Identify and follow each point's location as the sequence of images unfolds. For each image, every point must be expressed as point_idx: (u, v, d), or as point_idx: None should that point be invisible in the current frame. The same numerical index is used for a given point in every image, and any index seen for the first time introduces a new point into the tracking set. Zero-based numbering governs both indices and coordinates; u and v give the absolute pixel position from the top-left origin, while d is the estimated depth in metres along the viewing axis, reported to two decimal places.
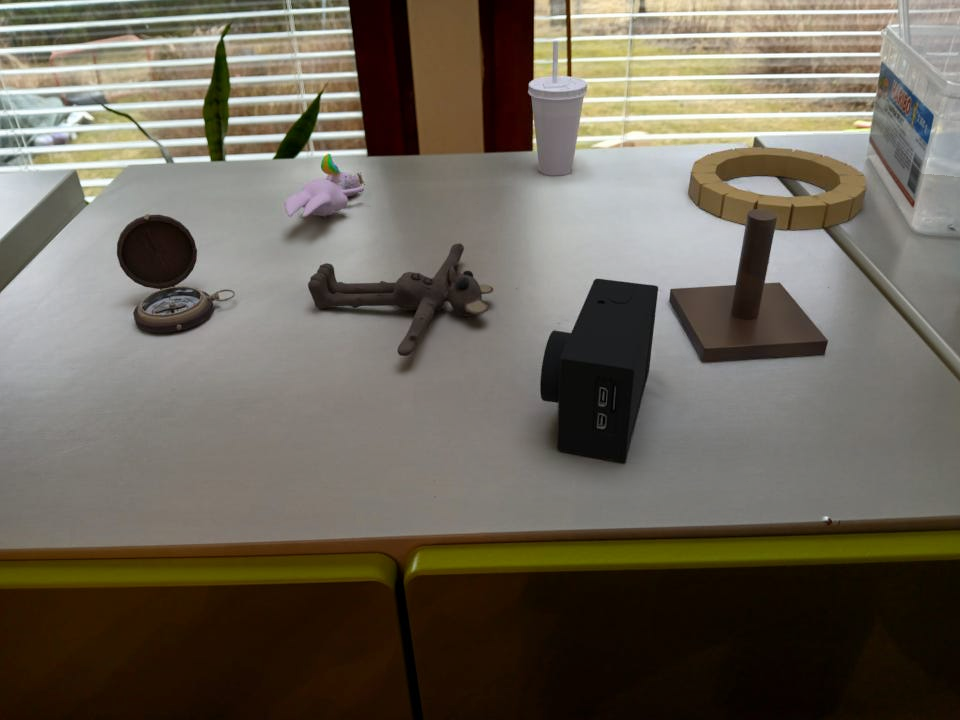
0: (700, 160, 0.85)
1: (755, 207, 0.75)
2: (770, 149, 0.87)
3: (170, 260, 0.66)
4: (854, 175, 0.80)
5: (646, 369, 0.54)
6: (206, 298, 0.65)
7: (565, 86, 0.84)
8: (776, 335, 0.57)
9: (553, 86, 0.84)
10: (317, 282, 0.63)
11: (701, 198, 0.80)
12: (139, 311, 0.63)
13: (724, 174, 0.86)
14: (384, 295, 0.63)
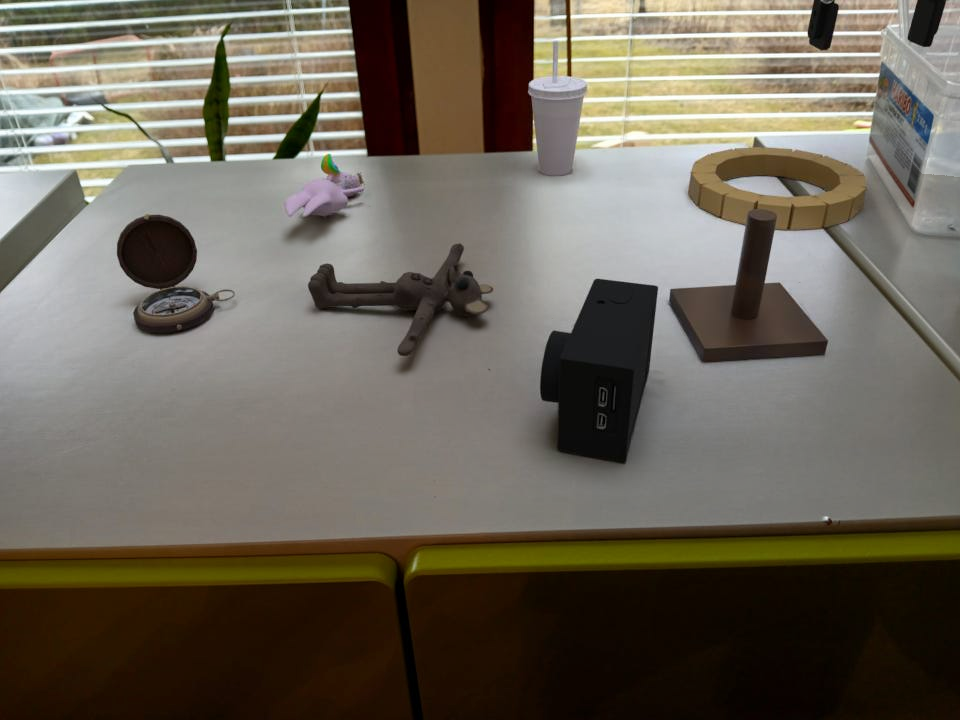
0: (700, 160, 0.85)
1: (755, 207, 0.75)
2: (770, 149, 0.87)
3: (170, 260, 0.66)
4: (854, 175, 0.80)
5: (646, 369, 0.54)
6: (206, 298, 0.65)
7: (565, 86, 0.84)
8: (776, 335, 0.57)
9: (553, 86, 0.84)
10: (317, 282, 0.63)
11: (701, 198, 0.80)
12: (139, 311, 0.63)
13: (724, 174, 0.86)
14: (384, 296, 0.63)
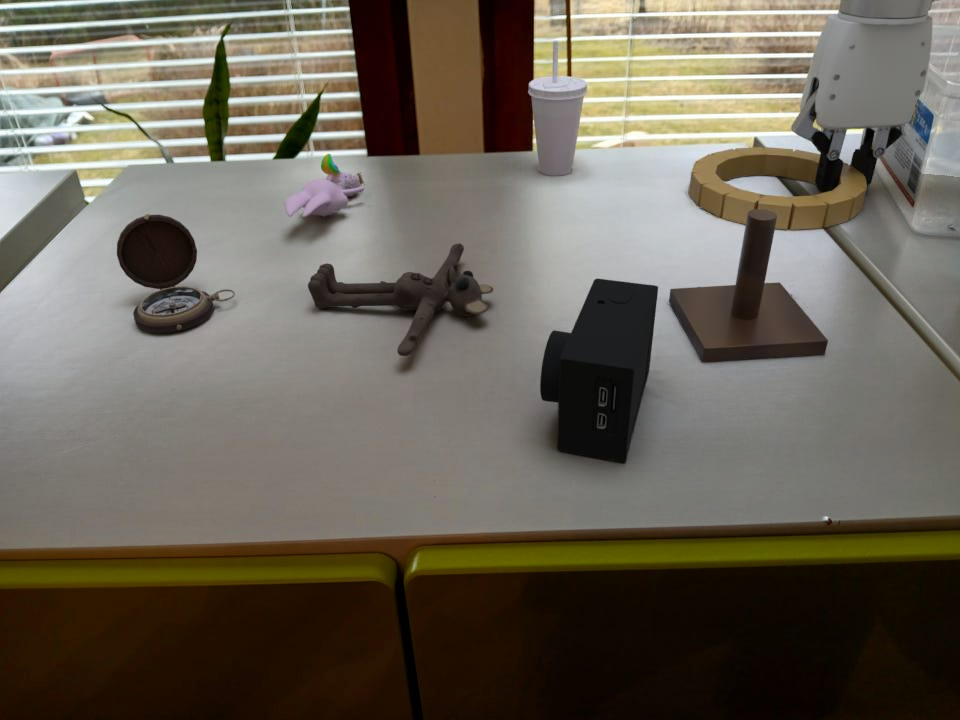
0: (700, 160, 0.85)
1: (755, 207, 0.75)
2: (770, 149, 0.87)
3: (170, 260, 0.66)
4: (854, 175, 0.80)
5: (646, 369, 0.54)
6: (206, 298, 0.65)
7: (565, 86, 0.84)
8: (776, 335, 0.57)
9: (553, 86, 0.84)
10: (317, 282, 0.63)
11: (701, 198, 0.80)
12: (139, 311, 0.63)
13: (724, 174, 0.86)
14: (384, 296, 0.63)
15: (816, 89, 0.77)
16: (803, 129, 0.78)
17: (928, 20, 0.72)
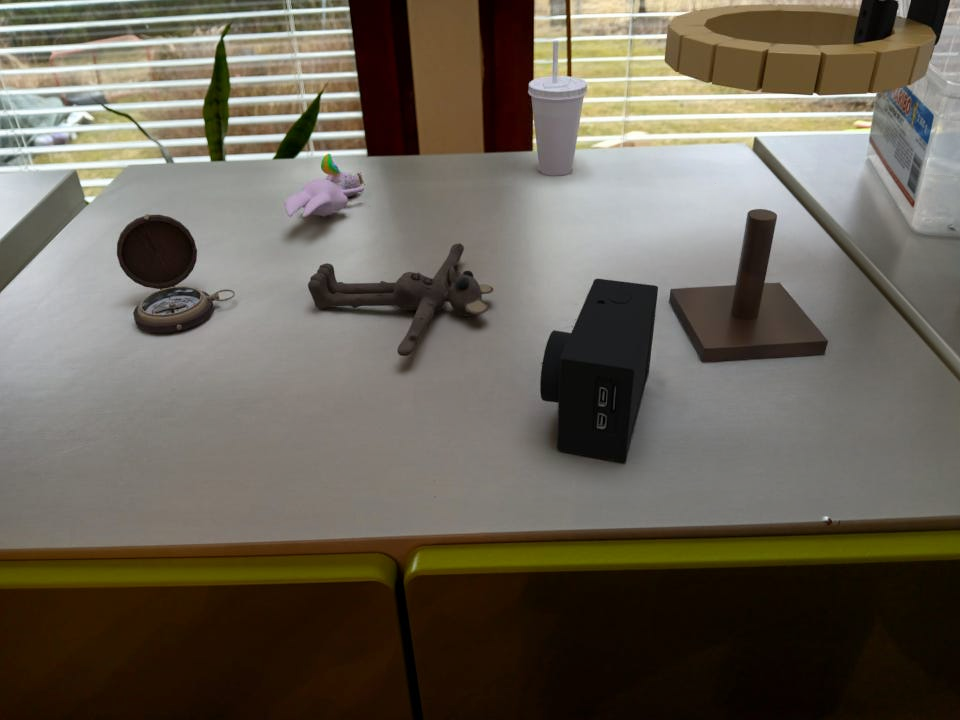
0: (683, 15, 0.58)
1: (764, 60, 0.48)
2: (786, 6, 0.60)
3: (170, 260, 0.66)
4: (915, 26, 0.53)
5: (646, 369, 0.54)
6: (206, 298, 0.65)
7: (565, 86, 0.84)
8: (776, 335, 0.57)
9: (553, 86, 0.84)
10: (317, 282, 0.63)
11: (682, 58, 0.52)
12: (139, 311, 0.63)
13: None
14: (384, 295, 0.63)
15: None
16: None
17: None
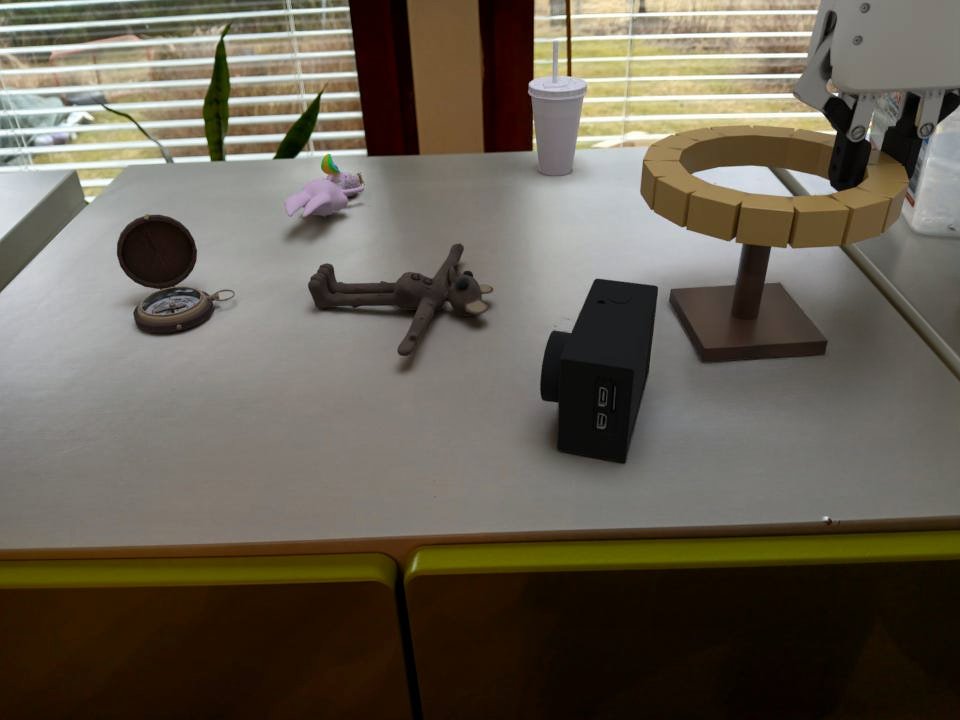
0: (659, 143, 0.58)
1: (737, 212, 0.48)
2: (762, 128, 0.60)
3: (170, 260, 0.66)
4: (888, 165, 0.53)
5: (646, 369, 0.54)
6: (206, 298, 0.65)
7: (565, 86, 0.84)
8: (776, 335, 0.57)
9: (553, 86, 0.84)
10: (317, 282, 0.63)
11: (656, 198, 0.52)
12: (139, 311, 0.63)
13: (694, 164, 0.58)
14: (384, 295, 0.63)
15: (832, 30, 0.49)
16: (811, 94, 0.51)
17: None
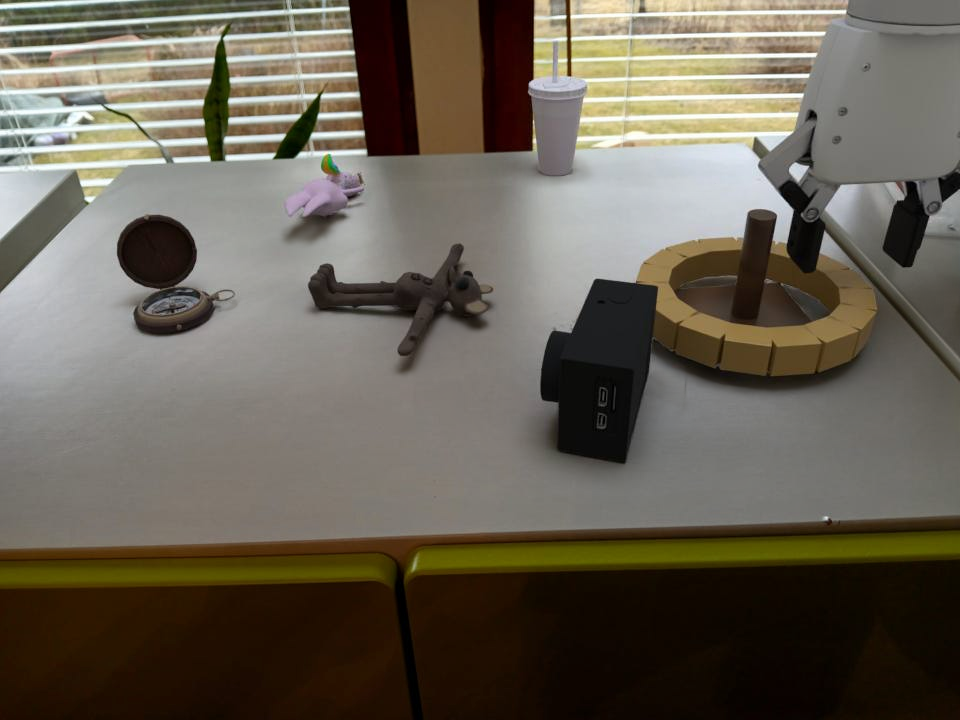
0: (650, 259, 0.63)
1: (721, 343, 0.53)
2: None
3: (170, 260, 0.66)
4: (859, 288, 0.58)
5: (646, 369, 0.54)
6: (206, 298, 0.65)
7: (565, 86, 0.84)
8: None
9: (553, 86, 0.84)
10: (317, 282, 0.63)
11: None
12: (139, 311, 0.63)
13: (683, 277, 0.64)
14: (384, 295, 0.63)
15: None
16: (774, 170, 0.53)
17: None
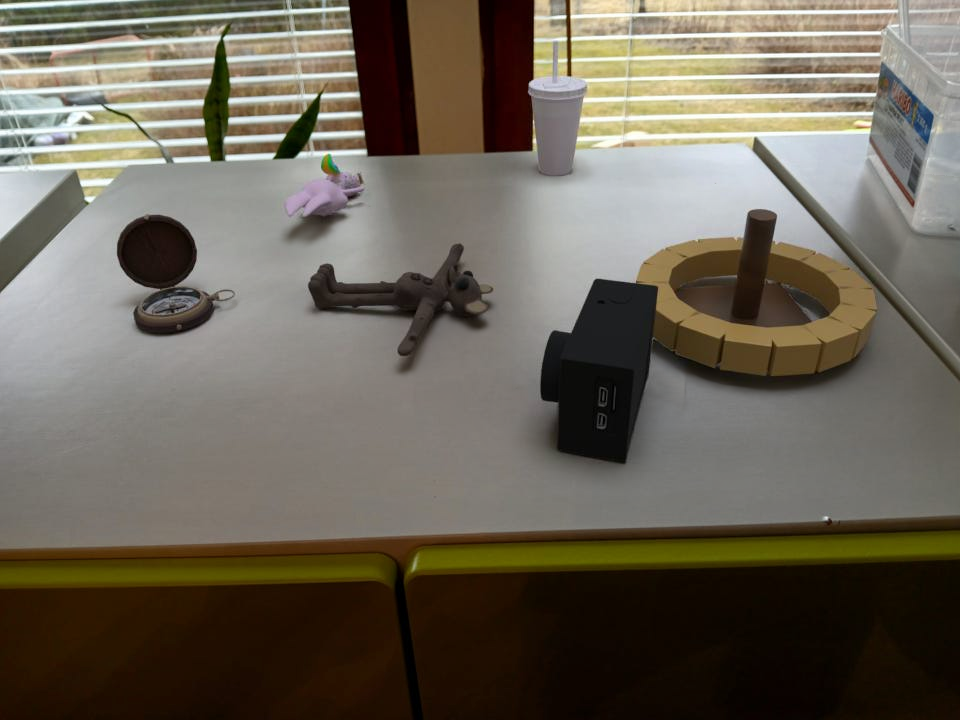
0: (650, 259, 0.63)
1: (721, 343, 0.53)
2: None
3: (170, 260, 0.66)
4: (859, 288, 0.58)
5: (646, 369, 0.54)
6: (206, 298, 0.65)
7: (565, 86, 0.84)
8: None
9: (553, 86, 0.84)
10: (317, 282, 0.63)
11: None
12: (139, 311, 0.63)
13: (683, 277, 0.64)
14: (384, 296, 0.63)
15: None
16: None
17: None
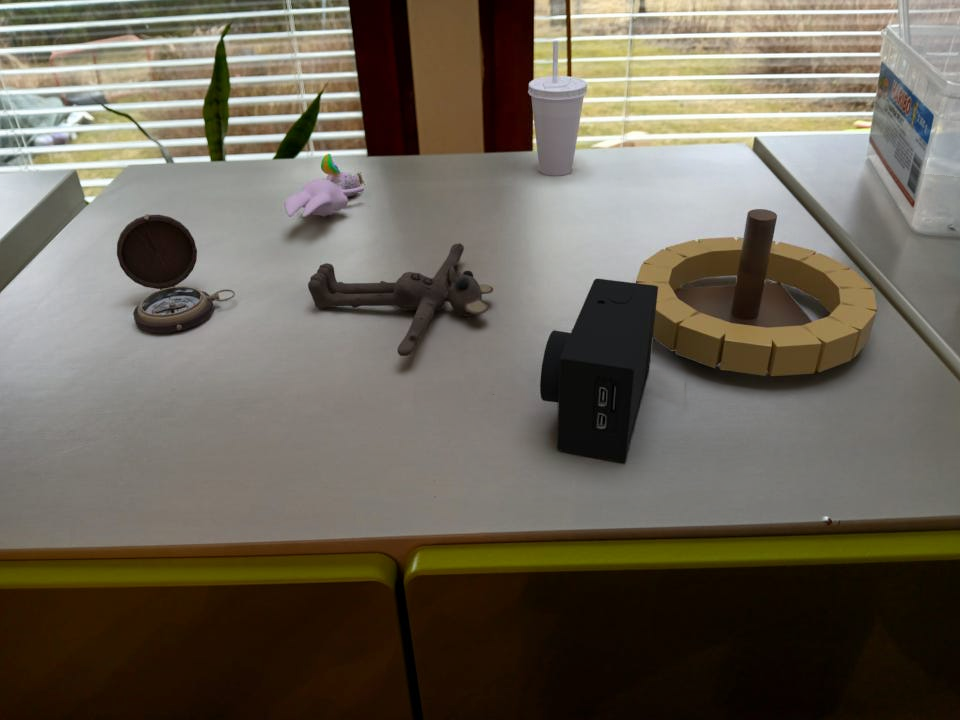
0: (650, 259, 0.63)
1: (721, 343, 0.53)
2: None
3: (170, 260, 0.66)
4: (859, 288, 0.58)
5: (646, 369, 0.54)
6: (206, 298, 0.65)
7: (565, 86, 0.84)
8: None
9: (553, 86, 0.84)
10: (317, 282, 0.63)
11: None
12: (139, 311, 0.63)
13: (683, 277, 0.64)
14: (384, 295, 0.63)
15: None
16: None
17: None
